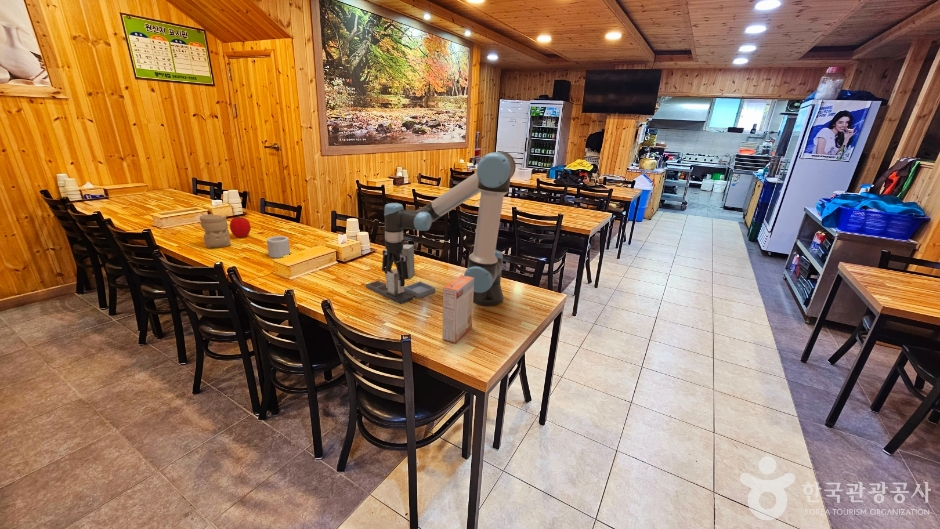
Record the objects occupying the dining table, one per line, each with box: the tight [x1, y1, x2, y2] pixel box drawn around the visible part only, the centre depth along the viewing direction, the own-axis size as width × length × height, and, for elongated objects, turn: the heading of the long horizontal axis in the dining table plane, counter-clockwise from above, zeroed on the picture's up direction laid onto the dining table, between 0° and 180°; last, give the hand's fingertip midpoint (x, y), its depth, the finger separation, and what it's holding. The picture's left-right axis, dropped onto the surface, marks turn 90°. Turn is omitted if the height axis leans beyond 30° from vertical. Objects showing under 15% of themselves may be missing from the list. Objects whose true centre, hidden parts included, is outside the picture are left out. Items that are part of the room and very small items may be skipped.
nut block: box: [387, 268, 403, 297], centre depth 164 cm, size 5×5×12 cm
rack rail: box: [365, 280, 414, 305], centre depth 168 cm, size 25×7×2 cm, turn 50°
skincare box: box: [398, 243, 416, 280], centre depth 187 cm, size 8×7×16 cm
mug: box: [266, 235, 291, 259], centre depth 207 cm, size 14×11×10 cm
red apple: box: [229, 216, 251, 238], centre depth 235 cm, size 12×12×13 cm
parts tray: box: [404, 280, 436, 300], centre depth 171 cm, size 10×10×2 cm
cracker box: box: [442, 274, 474, 344], centre depth 135 cm, size 14×6×21 cm, turn 154°
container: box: [199, 213, 232, 248], centre depth 215 cm, size 13×13×18 cm
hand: (395, 289), depth 165 cm, fingers open, 8 cm apart
